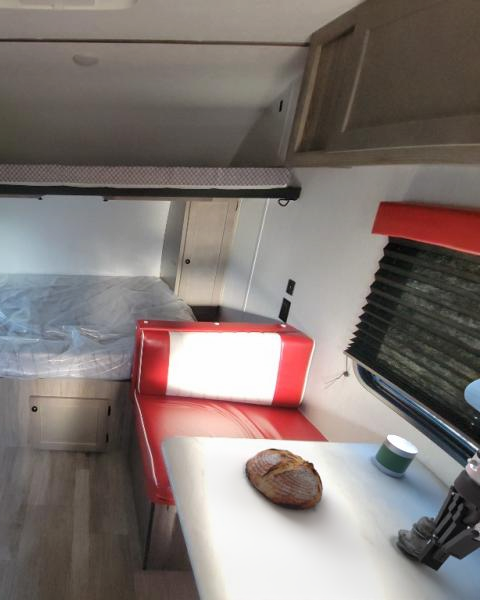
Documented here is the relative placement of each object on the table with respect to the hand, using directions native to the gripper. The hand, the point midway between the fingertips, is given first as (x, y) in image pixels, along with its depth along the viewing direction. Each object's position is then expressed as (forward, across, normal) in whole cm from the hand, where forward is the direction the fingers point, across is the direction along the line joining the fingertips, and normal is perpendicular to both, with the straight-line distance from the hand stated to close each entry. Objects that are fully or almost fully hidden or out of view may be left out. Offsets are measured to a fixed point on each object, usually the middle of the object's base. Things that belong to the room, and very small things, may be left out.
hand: (427, 563), depth 70 cm
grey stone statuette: (+6, -7, 0) cm, 10 cm away
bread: (+6, -8, -27) cm, 29 cm away
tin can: (+6, -38, 0) cm, 38 cm away
